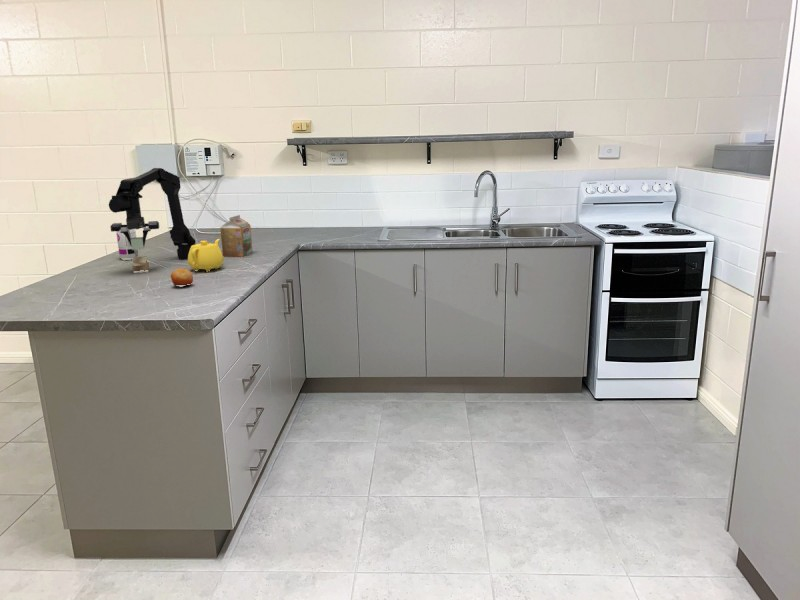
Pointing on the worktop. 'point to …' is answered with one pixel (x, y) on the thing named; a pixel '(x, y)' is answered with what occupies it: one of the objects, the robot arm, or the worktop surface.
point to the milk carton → (236, 238)
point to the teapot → (205, 256)
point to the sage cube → (137, 243)
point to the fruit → (181, 277)
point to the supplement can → (126, 245)
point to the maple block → (140, 261)
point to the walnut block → (141, 267)
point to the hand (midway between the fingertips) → (137, 246)
